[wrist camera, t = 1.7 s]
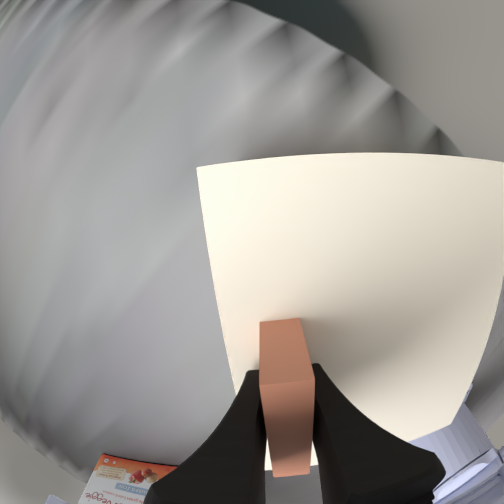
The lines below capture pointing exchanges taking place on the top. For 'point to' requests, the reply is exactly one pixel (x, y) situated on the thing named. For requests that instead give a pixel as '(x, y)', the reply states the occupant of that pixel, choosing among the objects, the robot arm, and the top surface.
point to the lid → (355, 284)
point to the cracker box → (121, 481)
